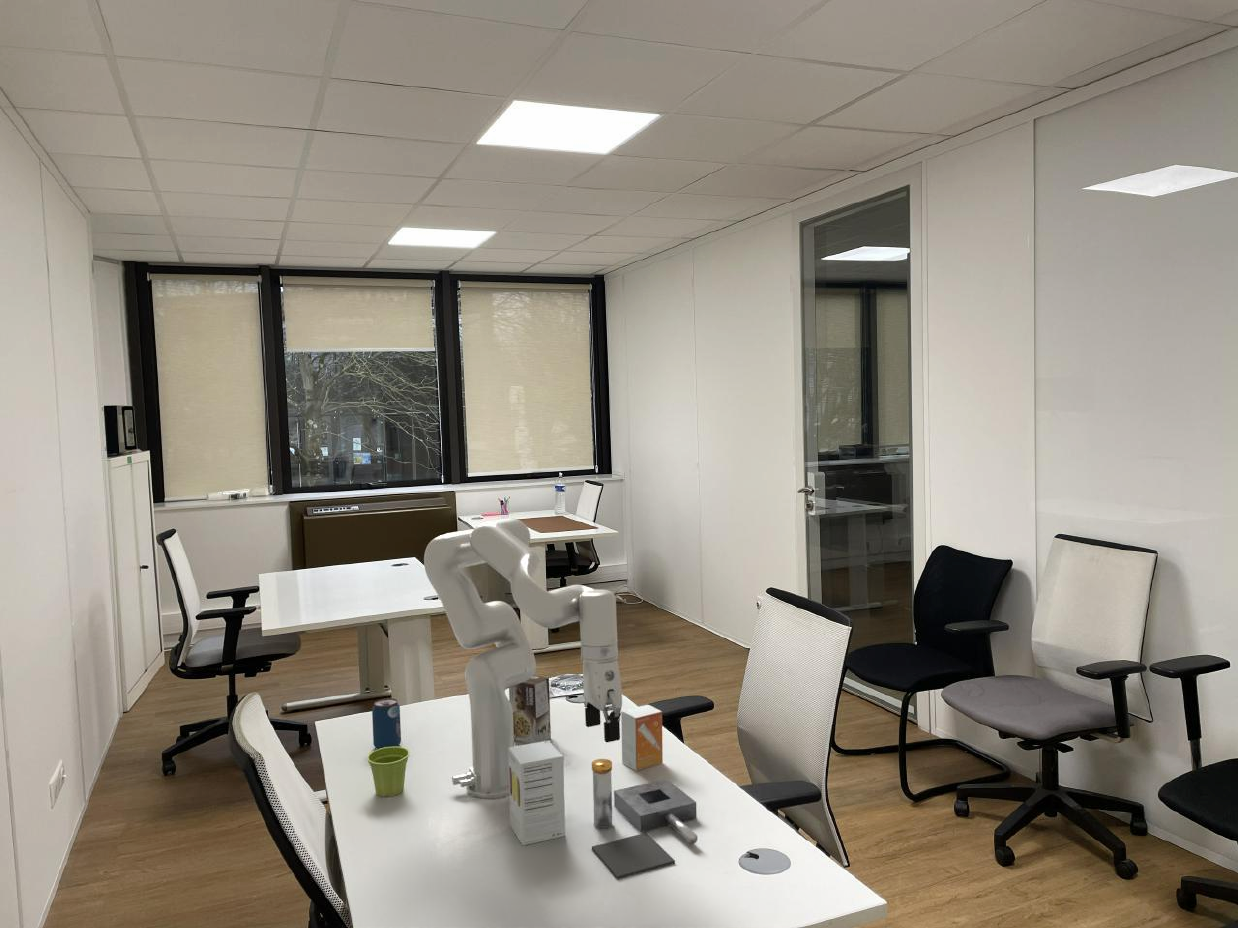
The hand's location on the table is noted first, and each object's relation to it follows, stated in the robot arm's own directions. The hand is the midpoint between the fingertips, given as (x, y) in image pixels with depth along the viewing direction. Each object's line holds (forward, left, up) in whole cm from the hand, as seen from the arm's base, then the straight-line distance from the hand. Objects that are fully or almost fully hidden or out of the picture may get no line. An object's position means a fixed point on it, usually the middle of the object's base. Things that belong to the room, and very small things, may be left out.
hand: (602, 732), depth 175 cm
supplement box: (-13, +4, -20) cm, 24 cm away
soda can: (-33, +64, -20) cm, 75 cm away
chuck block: (+12, -5, -20) cm, 23 cm away
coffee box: (+2, +52, -20) cm, 56 cm away
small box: (+21, +24, -20) cm, 38 cm away
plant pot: (-37, +37, -20) cm, 56 cm away
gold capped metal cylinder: (0, 0, -20) cm, 20 cm away
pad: (0, -14, -20) cm, 24 cm away
